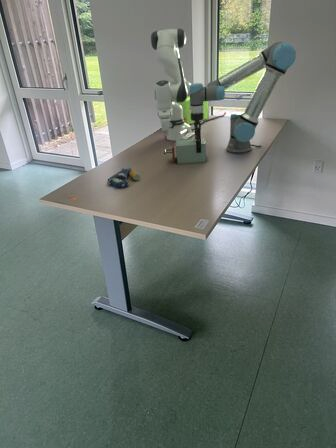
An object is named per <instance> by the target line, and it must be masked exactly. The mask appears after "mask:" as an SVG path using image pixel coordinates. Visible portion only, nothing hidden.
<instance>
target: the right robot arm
mask: <svg viewBox="0 0 336 448" xmlns="http://www.w3.org/2000/svg"><path fill="white" fill-rule="evenodd" d="M296 58H297V51H296V49H295V47H294V45H292V44H290V43H288V42H284V41H276V42H275V43H272V44H271V45H269V46H268V47H267V48H265V49H263V50H262V51H259V53H258V55H257V56H254V57H253V58H251V59H250V60H248V61H247V62H245V63H243V64H241V65H239V66H237V67H235V68H234V69H232V70H231V71H229V72H227V73H226V74H224V75H223V76H220V77H219V78H217V79H215V80H213V81H210V82H208V83H207V84H206V86H204V85H203V83H201V82H195V83H190V84H191V85H190V107H189V109H190V110H191V120H193V121H195V122H194V123H193V129H194V128H195V130H194V133H195V134H194V139H196V141H195V143H196V150H197V153H201V139H202V133H201V131H202V124H201V123H202V121H204V120H203V119H204V113H203V111H204V107H203V101H208V102H215V101H218V102H220V101H223V100H224V99H225V98H226V97H225V95H226V90H228V89H230V88H232V87H233V86H235V85H236V84H238V83H241V82H242V81H243V80H246V79H247V78H249V77H251V76H252V75H254V74H257V73H258V72H260V71H261V70H262V71H263V69H265V71H264V72H263V74H262V76H261V78H260V80H259V81H258V84H257V87H256V88H255V90H254V91H253V94H252V95H251V98H250V99H249V102H248V104H247V105H246V108H245V110H244V111H243V112H232V113H231V114H230V118H229V120H230V123H229V125H230V126H229V131H230V132H229V140H228V143H227V146H226V151H227V152H229V153H232V154H244V153H248V152H250V151H251V150H252V147H256V148H260V147H262V145H261V144H260V145H257V144H251V140H252V139H253V138H254V136H255V134H256V129H257V126H258V124H259V117H260V115H261V113H262V111H263V110H264V108H265V106H266V104H267V102H268V100H269V99H270V97H271V95H272V93H273V91H274V90H275V87H276V85H277V83H278V82H279V79H280V78H281V77H283V76H285V75H286V73H287V71H288V69H289V68H290V67H291V66H293V64H294V63H295V62H296ZM200 120H202V121H200Z"/></svg>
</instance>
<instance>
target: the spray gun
mask: <svg viewBox="0 0 336 448" xmlns="http://www.w3.org/2000/svg"><path fill="white" fill-rule="evenodd" d="M129 177H130V178H131V179H132V180H134V181H139V180H140V178H141V175H140V173H139V172H137V171H136V170H132V167H127V168H126V167H122V168H121V169H120V170H118V171H116V173H114V174H113V175H112V176H110V177H109V178H107V181H106V184H107V185H109V186H114V187H115V188H117V189H118V188H119V189H120V188H124V187H126V186H128V185H129V180H128V178H129Z"/></svg>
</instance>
